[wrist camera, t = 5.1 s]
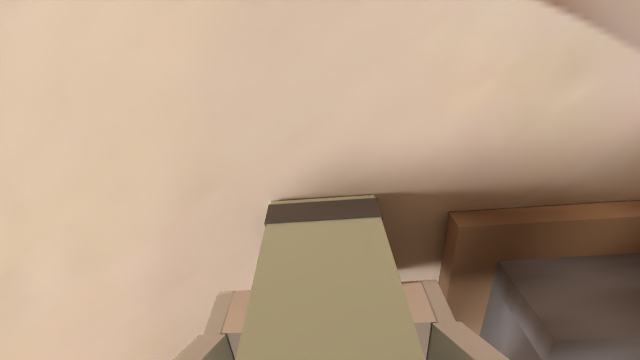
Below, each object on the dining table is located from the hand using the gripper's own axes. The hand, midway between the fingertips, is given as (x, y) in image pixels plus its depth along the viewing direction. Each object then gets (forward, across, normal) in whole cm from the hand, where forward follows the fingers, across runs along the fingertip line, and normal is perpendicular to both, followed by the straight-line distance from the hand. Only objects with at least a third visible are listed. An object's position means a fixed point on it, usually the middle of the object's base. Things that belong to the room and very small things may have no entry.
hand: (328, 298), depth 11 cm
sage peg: (+3, 0, 0) cm, 3 cm away
